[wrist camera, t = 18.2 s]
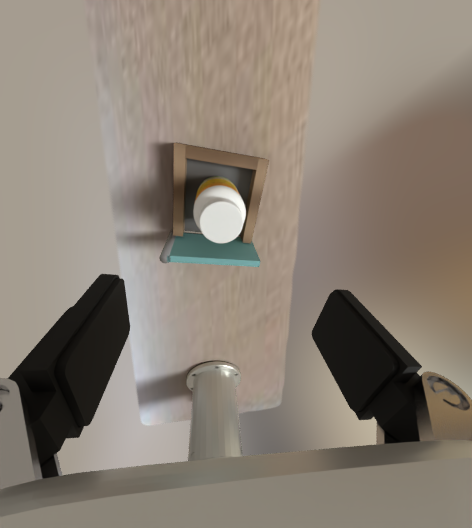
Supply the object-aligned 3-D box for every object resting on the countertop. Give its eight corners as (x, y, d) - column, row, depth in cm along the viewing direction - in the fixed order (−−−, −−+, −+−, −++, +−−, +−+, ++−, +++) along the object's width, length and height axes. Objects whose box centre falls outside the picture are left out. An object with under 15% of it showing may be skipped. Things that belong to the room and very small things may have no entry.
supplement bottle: (188, 188, 25) (178, 212, 17) (225, 167, 25) (234, 180, 16) (210, 224, 28) (210, 259, 20) (244, 206, 27) (260, 234, 19)
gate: (249, 243, 31) (258, 268, 25) (169, 237, 29) (159, 262, 23) (250, 236, 30) (260, 259, 24) (169, 229, 28) (159, 253, 22)
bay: (248, 236, 30) (250, 243, 28) (175, 228, 28) (173, 235, 26) (264, 158, 25) (269, 160, 23) (176, 142, 23) (173, 143, 21)
